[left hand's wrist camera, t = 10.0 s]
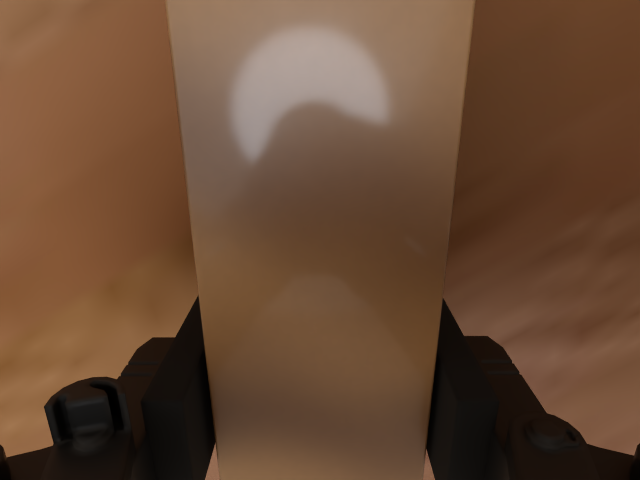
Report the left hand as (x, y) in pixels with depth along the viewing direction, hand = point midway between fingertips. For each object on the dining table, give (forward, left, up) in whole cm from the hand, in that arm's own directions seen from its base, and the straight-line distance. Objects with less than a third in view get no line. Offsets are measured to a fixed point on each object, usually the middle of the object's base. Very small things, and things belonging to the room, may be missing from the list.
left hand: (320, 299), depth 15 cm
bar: (-11, -33, -2) cm, 35 cm away
